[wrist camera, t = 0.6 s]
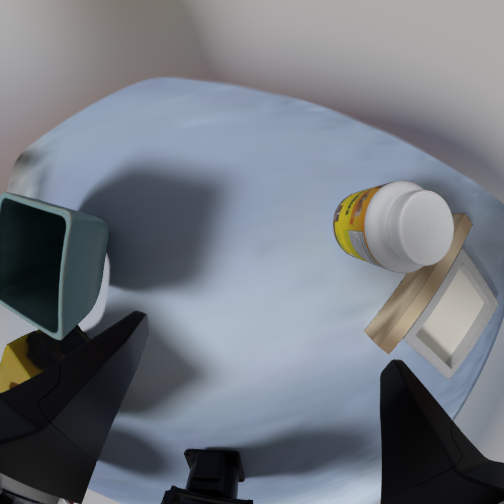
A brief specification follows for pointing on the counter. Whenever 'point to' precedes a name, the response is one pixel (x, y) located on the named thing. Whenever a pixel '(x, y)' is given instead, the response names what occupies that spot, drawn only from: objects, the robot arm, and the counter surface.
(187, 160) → the counter surface
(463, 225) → the oak sill
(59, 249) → the flower pot
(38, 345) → the yellow and black cube
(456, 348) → the square tray
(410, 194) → the supplement bottle
